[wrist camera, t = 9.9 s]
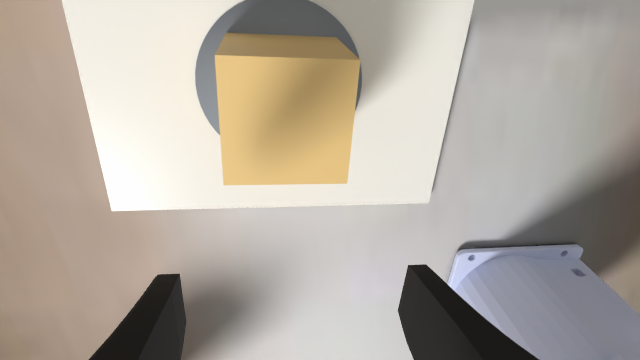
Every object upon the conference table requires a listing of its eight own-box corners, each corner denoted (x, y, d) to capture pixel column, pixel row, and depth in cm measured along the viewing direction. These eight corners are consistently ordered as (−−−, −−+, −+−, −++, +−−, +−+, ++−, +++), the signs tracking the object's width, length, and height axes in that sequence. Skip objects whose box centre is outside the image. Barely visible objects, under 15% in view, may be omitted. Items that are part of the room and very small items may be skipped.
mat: (483, -70, 17) (491, -71, 17) (424, 198, 24) (429, 203, 23) (43, -108, 15) (34, -111, 14) (115, 205, 21) (111, 212, 21)
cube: (336, 37, 18) (360, 60, 14) (328, 137, 20) (347, 183, 16) (226, 32, 17) (214, 55, 13) (231, 136, 20) (223, 185, 15)
